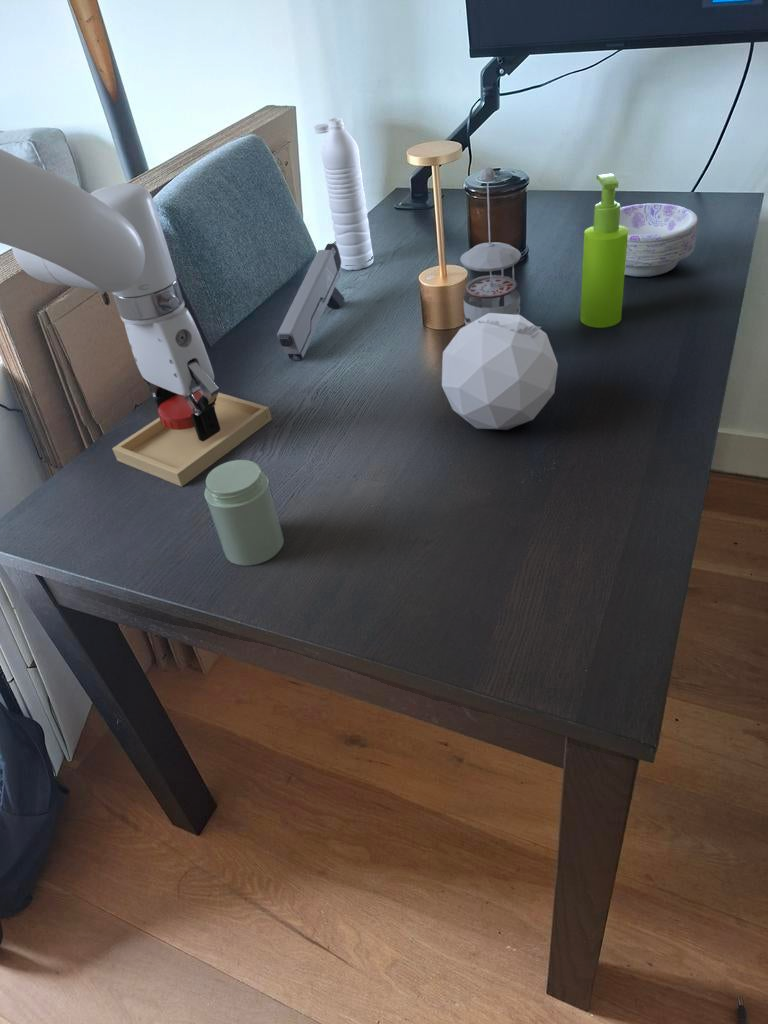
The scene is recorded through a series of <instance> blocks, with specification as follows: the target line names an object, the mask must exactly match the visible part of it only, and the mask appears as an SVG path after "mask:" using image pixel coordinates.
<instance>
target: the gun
mask: <svg viewBox="0 0 768 1024" xmlns="http://www.w3.org/2000/svg"><path fill="white" fill-rule="evenodd" d="M340 266H341V258H340V254H339V250H338V247H337V246H336V243H327V244H326V246H325V248H324V249H318V251H317V252H316V254H315V256H314V258H313V260H312V262H311V264H310V266H309V268H308V271H307V272H306V275H305V276H304V279H303V280H302V283H301V285H300V287H299V288H298V290H297V293H296V295H295V297H294V299H293V301H292V303H291V305H290V307H289V308H288V311H287V313H286V315H285V317H284V319H283V322H282V323H281V326H280V327H279V329H278V332H277V334H276V336H277V338H278V341H279V343H280V347H281V349H282V352H283V354H284V355H287V356H288V359H290V360H291V361H302V360H303V359H304V357H305V355H306V352H307V350H308V348H309V346H310V344H311V341H312V339H313V337H314V335H315V332H316V330H317V328H318V326H319V324H320V322H321V319H322V317H323V315H324V312H325V310H326V308H327V307H328V308H330V309H340V308H342V306H343V305H344V301H345V296H343V294H342V293H341V291H339V289H338V288H337V287H336V286H337V284H338V281H339V279H340V277H341V275H340V270H341V267H340Z"/></svg>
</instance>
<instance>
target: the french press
mask: <svg viewBox="0 0 768 1024" xmlns="http://www.w3.org/2000/svg"><path fill="white" fill-rule="evenodd" d="M495 178H496V171H495V170H494V169H493V168H492V167H484V168H482V169H481V170H480V172H479V179H480V180H483V181H486V197H487V198H486V201H487V222H488V223H487V226H488V242H483V243H478V244H476V245H474V246H473V247H472V248H470V249H469V250H467V251H465V252H464V253H463V254H461V256H460V258H459V261H460V262H461V264H462V266H463V267H464V268H466V269H468V270H470V271H475V272H489V275H482V276H479V277H476V278H473V279H472V280H470V281H468V282H467V283H466V285H465V287H464V290H465V291H466V293H464V295H463V314H464V317H465V318H464V326H466V325H468V324H470V323H472V322H473V321H475V320H477V319H479V318H481V317H482V316H484V315H486V314H488V313H498V314H511V315H521V314H520V312H521V305H520V304H521V294H520V291H519V290H518V289H517V288H518V284H519V283H518V281H517V280H516V279H515V265H516V264H518V263H519V261H520V259H521V256H522V253H521V252H520V250H519V249H518V248H516V247H514V246H513V245H511V244H510V243H509V244H508V243H504V242H496V241H494V242H491V222H490V221H491V218H490V217H491V215H490V214H491V213H490V190H489V181H490V180H493V179H495ZM511 267H512V277H510V276H508V275H504V270H505V269H509V268H511ZM495 271H496V272H497V271H501V275H500V274H498V275H496V274H494V275H493V274H492V272H495ZM470 298H476V299H481V300H472V301H469V302H468V300H469V299H470ZM501 298H503V306H500V300H501ZM467 302H468V303H467ZM479 306H481V307H479ZM467 320H468V321H467Z"/></svg>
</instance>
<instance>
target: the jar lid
mask: <svg viewBox="0 0 768 1024" xmlns="http://www.w3.org/2000/svg"><path fill="white" fill-rule="evenodd" d="M192 395H193V397H194V399H195V400H196V402H198V401H199V399H200V398H201V397H202V395H201V393H200V392H199V391H197V392H195V393H194V394H192ZM214 409H215V407H214ZM157 412H158V413H157V414H158V418H160V420H161V423H162V424H163V425H164V426H165V427H166V428H169V429H173V430H183V429H189V428H193V427H195V426H194V423H193V420H192V417H191V414H193V411H192V409H191V408H190V406H189V404H188V403H187V401H186V399H185V398H184V396H183V395H179V394H177V395H174V396H172V397H171V398H169V399H167V400H165V401H164V402H163V403H162V404H161V405H160V406H159V408H158V407H157Z"/></svg>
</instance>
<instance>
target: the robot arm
mask: <svg viewBox="0 0 768 1024" xmlns="http://www.w3.org/2000/svg"><path fill="white" fill-rule="evenodd" d="M161 224H162V223H161V221H160V218H159V215H158V210H157V207H156V204H155V201H154V198H153V196H152V194H151V193H150V191H149V189H147V188H146V186H144V185H142V184H139V183H132V182H123V183H116V184H111V185H107V186H104V187H100V188H97V189H95V190H93V191H92V192H90V193H89V192H88V191H86V190H85V189H83V188H81V187H80V186H79V185H77V184H75V183H74V182H71V181H70V180H67V179H65V178H63V177H62V176H60V175H58V174H55V173H53V172H52V171H49V170H47V169H45V168H43V167H40V166H38V165H36V164H34V163H32V162H29V161H27V160H25V159H23V158H20V157H19V156H17V155H14V154H12V153H10V152H8V151H6V150H4V149H2V148H0V244H2V245H6V246H9V247H11V250H12V254H13V257H14V259H15V261H16V262H17V265H18V266H19V267H20V268H21V269H22V271H24V272H25V273H26V274H27V275H29V276H30V277H32V278H34V279H36V280H37V281H41V282H43V283H48V284H51V285H57V286H58V285H59V286H64V287H69V288H78V289H79V288H80V289H85V290H90V291H91V290H92V291H95V292H96V291H97V292H102V293H111V294H112V298H113V301H114V302H115V305H116V308H117V311H118V314H119V317H120V320H121V321H122V322H123V324H124V328H125V332H126V335H127V339H128V342H129V346H130V349H131V352H132V355H133V358H134V366H135V367H136V368H137V370H138V371H139V373H140V375H141V377H142V378H143V381H144V382H145V383H146V384H147V385H148V387H149V393H150V395H151V396H152V397H153V398H154V401H155V404H156V407H157V409H158V408H159V406H160V405H161V404H162V403H163V402H164V401H165V400H167V399H169V398H171V397H172V396H174V395H177V394H179V395H183V396H184V398H185V399H186V401H187V403H188V404H189V406H190V408H191V409H192V411H193V414H191V417H192V420H193V423H194V426H195V429H196V433H197V436H198V439H199V440H200V441H205V440H207V439H208V438H210V437H211V436H213V435H215V434H216V433H218V432H219V431H220V425H219V422H218V419H217V416H216V412H215V409H214V406H215V401H216V397H217V395H218V393H220V388H219V387H218V385H217V384H216V383H215V382H214V381H215V374H214V370H213V367H212V364H211V361H210V358H209V355H208V352H207V349H206V346H205V344H204V342H203V339H202V337H201V334H200V331H199V330H198V327H197V325H196V323H195V320H194V318H193V316H192V315H191V313H190V311H189V309H188V307H185V300H184V297H183V294H182V290H181V287H180V283H179V280H178V277H177V274H176V271H175V266H174V264H173V261H172V257H171V254H170V250H169V247H168V243H167V240H166V236H165V234H164V230H163V227H162V225H161ZM192 383H195V384H196V385H194V386H193V387H191V386H192ZM190 387H191V388H190ZM197 391H200V393H201V395H202V397H201V398H200V399H199V401H198V402H196V400H195V399H194V397H193V395H192V394H194V393H195V392H197Z"/></svg>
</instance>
